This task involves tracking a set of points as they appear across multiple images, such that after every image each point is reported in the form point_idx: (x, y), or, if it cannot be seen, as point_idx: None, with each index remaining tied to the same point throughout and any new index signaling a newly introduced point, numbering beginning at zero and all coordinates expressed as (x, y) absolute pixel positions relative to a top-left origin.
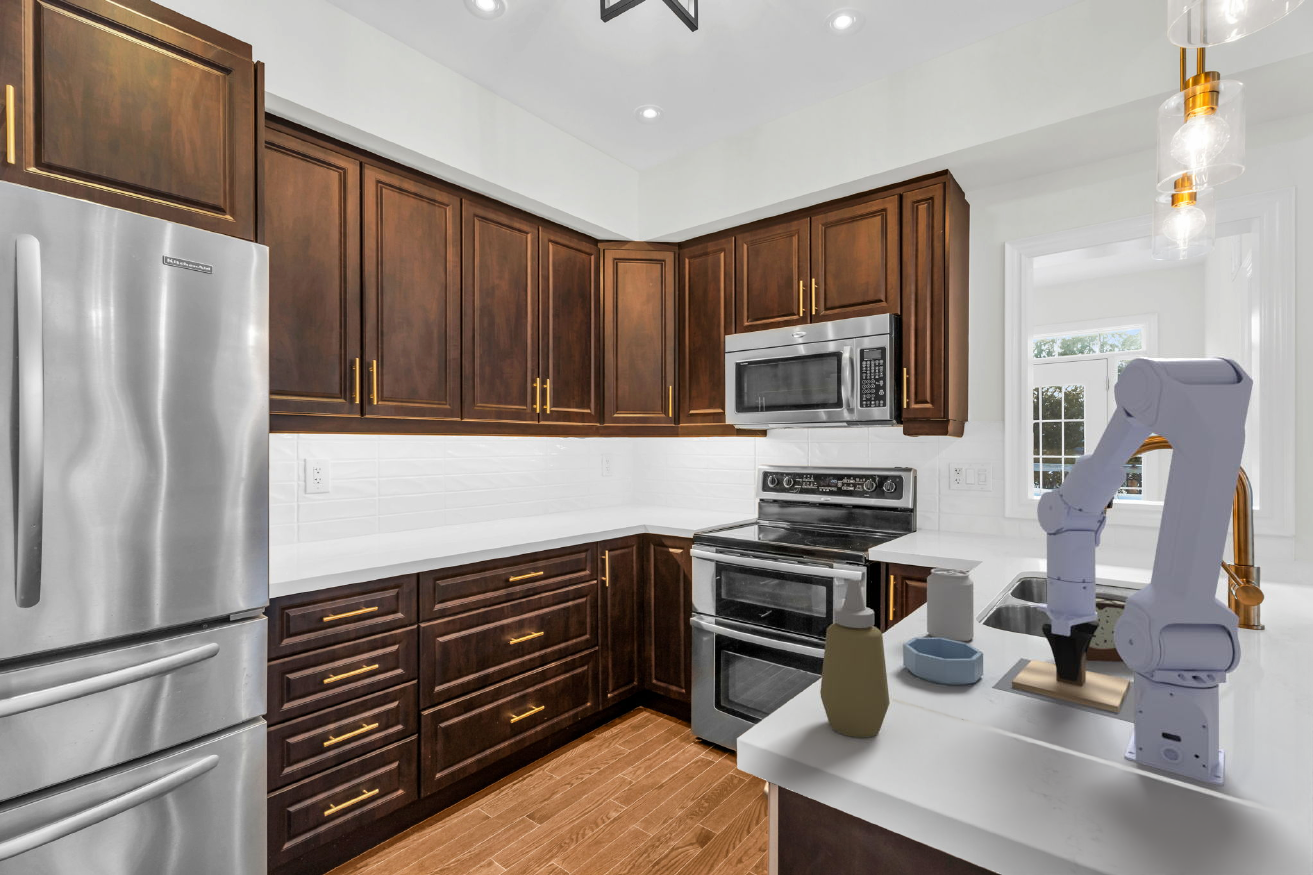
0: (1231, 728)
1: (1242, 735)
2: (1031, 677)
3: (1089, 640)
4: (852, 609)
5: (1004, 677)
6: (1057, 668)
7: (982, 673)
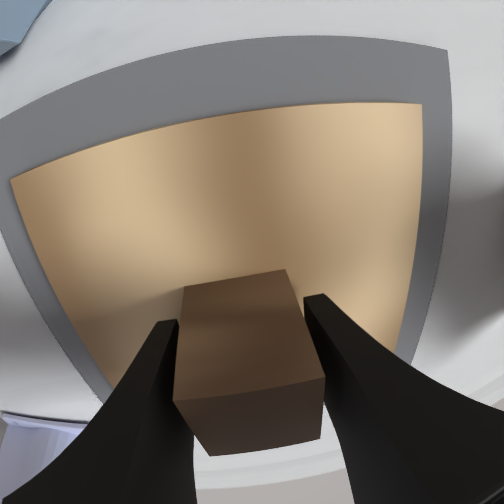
0: (267, 463)
1: (249, 470)
2: (122, 203)
3: (352, 485)
4: None
5: (96, 83)
6: (138, 351)
7: (8, 46)
